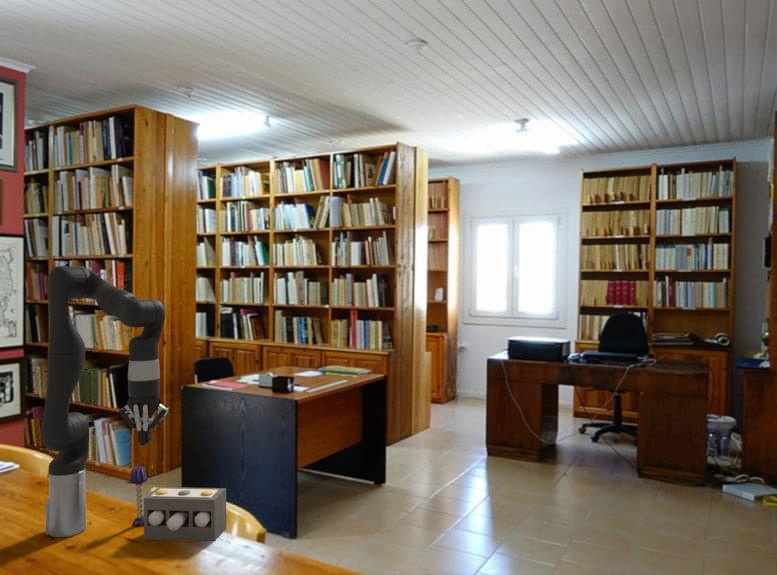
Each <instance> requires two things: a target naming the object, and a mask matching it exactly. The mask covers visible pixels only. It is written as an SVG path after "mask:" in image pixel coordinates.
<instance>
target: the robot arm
mask: <svg viewBox="0 0 777 575" xmlns="http://www.w3.org/2000/svg"><path fill="white" fill-rule="evenodd" d="M47 298H48V299H47V300H48V314H49V317H48V319H49V323H48V324H49V325H48V326H49V327H48V328H49V333H48V346H47V348H48V350H47V379H46V392H45V394H46V395H45V402H44V403H45V404H44V410H43V417H42V422H41V440H42V444H43V445H44V447H45V448H46V449H48V450H49V451H52V452H54V451H55V452H56V451H59V452H58V453H57V455H56V456H55V457H54V458H53V459H52V460H51V461H50V462H49V464H48V499H46V501H45V535H47V536H50V537H53V538H67V537H72V536H75V535H78V534H81V533H82V532H84V531H85V530H86V529H87V506H86V505H87V501H86V500H87V498H86V497H87V496H86V495H87V493H86V490H87V489H86V488H87V487H86V486H87V485H86V484H87V483H86V473H87V472H86V463H87V460H88V458H89V452H90V451H89V450H90V449H89V448H90V425H89V422H88V420H87V417H86V416H85V415H84V414H83V413H82V412H77V411H73V412H69V410H70V403H71V399H72V395H73V394H74V391H75V390H76V388H77V386H78V384H79V382H80V380H81V378H82V376H83V372H84V370H85V365H86V364H85V363H86V344H85V342H84V339H83V337H82V336H81V334H80V333H79V331H78V329H77V328H76V327H75V324H74V323H73V321H72V319H71V316H70V315H71V314H70V309H69V300H83V299H88V300H89V299H91V300H95V301H96V305H98V307H99V308H100V309H101V310H103V311H104V312H107V313H109V314H111V315H113V316H115V317H116V318H117V319H118V320H119V321H120V322H121V323H122V324H123V325H124V326H127V327H129V328H134V329H135V328H143V330H142V331H141V334H139V335H137V336H134V337H132V338H131V339H129V341H128V366H127V369H128V370H127V382H128V383H127V389H128V390H127V394H128V400H127V403H126V405H124V407H122V408H119V409H118V413H119V414H120V415H121V417H122V418H123V419H124V421H125V423H127V424H128V427H129V428H130V429H134V430H136V431H137V442H138V443H139V445H140V446H148V445H149V444H150V442H152V430H153V429H155V428H157V427H159V426H160V424H161V423H162V421H163V420H164V419H165V417H167V415H168V414H169V412H170V409H171V408H170V407H165V406H164V404H162V399H161V398H160V395H161V379H160V378H161V377H160V376H161V375H160V374H161V372H160V371H161V370H160V369H161V368H160V361H159V358H160V357H159V354H160V353H159V351H160V350H159V343H160V339H161V335H162V331H163V328H164V323H165V320H166V311H165V306H164V304H162V302H161V301H160V300H159V299H152V298H150V299H138V298H137V297H136V295H134V293H132V292H129V291H127V290H125V289H122V288H120V287H117V286H115V285H112V284H111V283H110V282H107V280H105V279H103V278H102V277H100V276H99V275H98V274H97V273H95V272H94V271H92V270H91V269H89V268H87V267H83V266H68V265H67V266H66V265H61V266H60V265H59V266H58V265H56V266H54V267H53V268H52V269H50V273H49V275H48V279H47ZM156 412H157V415H156V416H155V414H156Z"/></svg>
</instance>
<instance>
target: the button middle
mask: <svg viewBox="0 0 777 575" xmlns="http://www.w3.org/2000/svg"><path fill="white" fill-rule="evenodd" d="M186 519H187V511H179V512H177V513H175V514H174V515H173V516H172V517H171V518H169V519H168V521H167V526H168V528H169V529H170V530H172V531H175V530H177V529H178V528H179V527H181V526H182V525H183V524H184V522H185V520H186Z"/></svg>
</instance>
